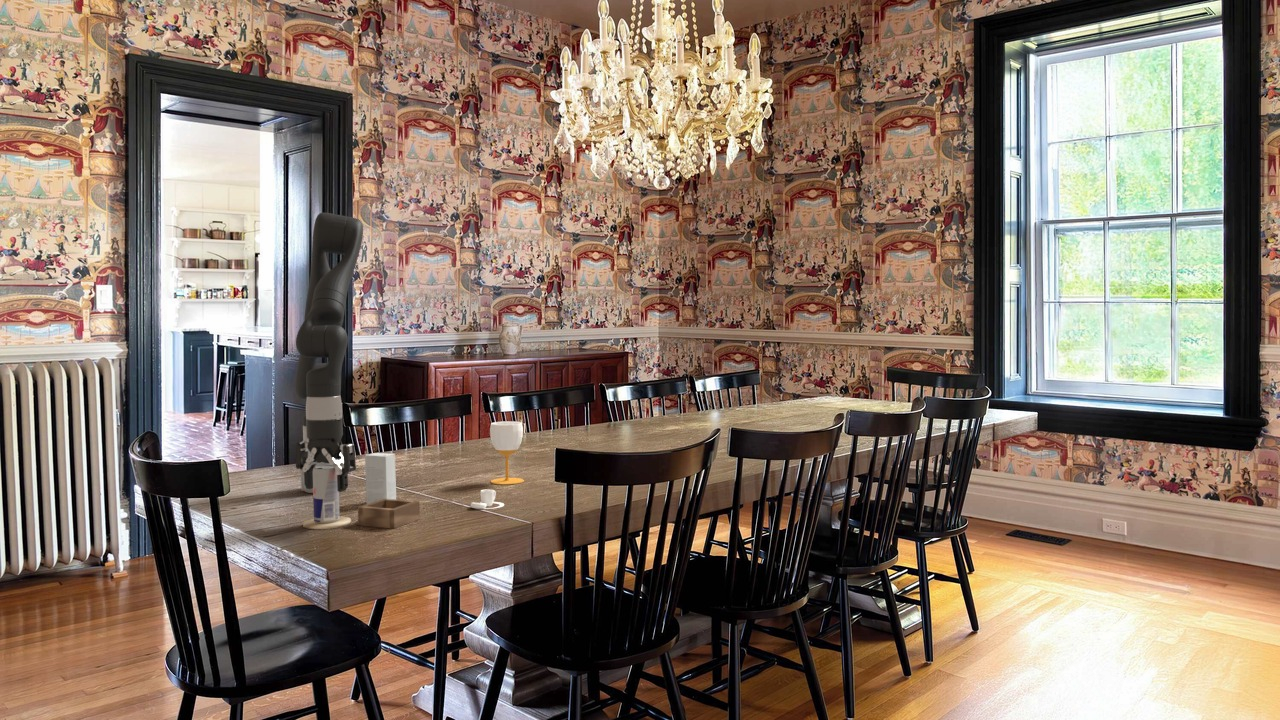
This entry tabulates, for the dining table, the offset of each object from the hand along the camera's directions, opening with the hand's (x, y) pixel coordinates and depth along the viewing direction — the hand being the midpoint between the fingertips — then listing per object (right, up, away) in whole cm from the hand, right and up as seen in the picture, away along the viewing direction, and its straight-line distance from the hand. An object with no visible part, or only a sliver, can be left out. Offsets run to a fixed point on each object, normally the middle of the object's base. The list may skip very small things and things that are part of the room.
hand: (326, 489), depth 200 cm
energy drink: (0, -7, +1) cm, 7 cm away
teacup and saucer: (+29, -7, +18) cm, 35 cm away
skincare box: (+6, -7, +22) cm, 23 cm away
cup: (+33, -5, +48) cm, 58 cm away
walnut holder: (+13, -7, +2) cm, 15 cm away
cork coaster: (0, -8, 0) cm, 8 cm away
